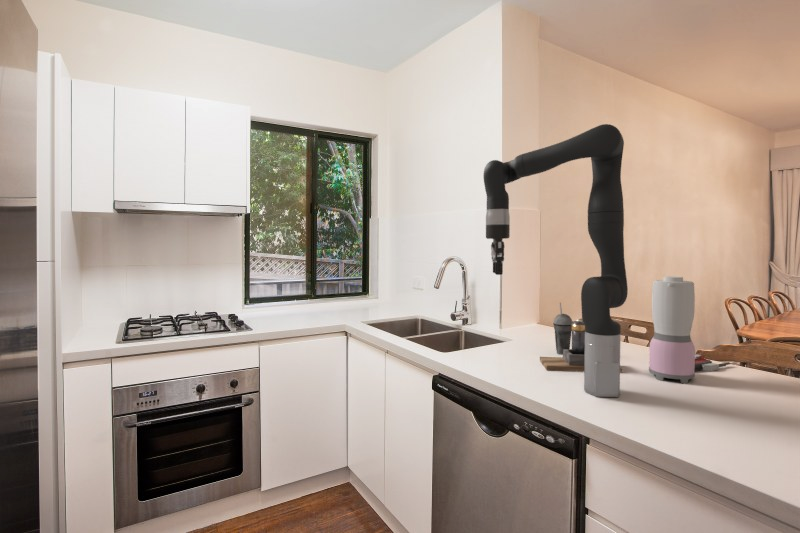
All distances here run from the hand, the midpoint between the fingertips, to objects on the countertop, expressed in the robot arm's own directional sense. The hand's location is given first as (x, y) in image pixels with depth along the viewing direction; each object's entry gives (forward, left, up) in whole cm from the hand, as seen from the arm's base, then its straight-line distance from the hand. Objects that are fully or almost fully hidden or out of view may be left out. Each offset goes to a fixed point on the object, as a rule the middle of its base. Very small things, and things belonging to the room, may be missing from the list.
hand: (497, 273), depth 136 cm
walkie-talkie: (+15, -70, -34) cm, 79 cm away
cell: (+12, -29, -32) cm, 44 cm away
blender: (+4, -55, -33) cm, 64 cm away
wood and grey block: (+12, -29, -33) cm, 46 cm away
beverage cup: (+30, -28, -33) cm, 53 cm away
